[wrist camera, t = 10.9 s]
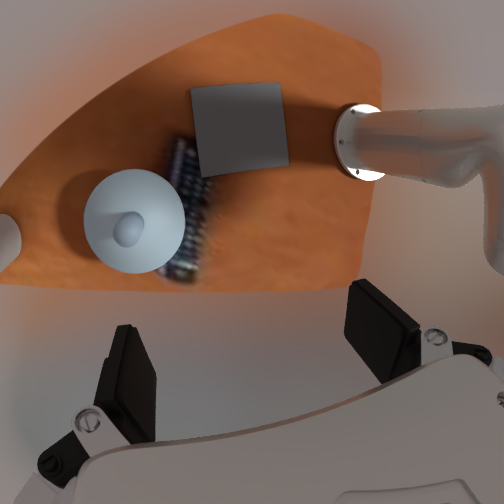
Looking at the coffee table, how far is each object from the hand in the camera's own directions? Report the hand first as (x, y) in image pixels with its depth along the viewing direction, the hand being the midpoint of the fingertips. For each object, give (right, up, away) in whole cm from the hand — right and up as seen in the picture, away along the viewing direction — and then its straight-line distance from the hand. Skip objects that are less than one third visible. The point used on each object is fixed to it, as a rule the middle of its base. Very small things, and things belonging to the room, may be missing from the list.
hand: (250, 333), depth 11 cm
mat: (-1, +20, +22) cm, 30 cm away
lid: (-13, +7, +18) cm, 23 cm away
